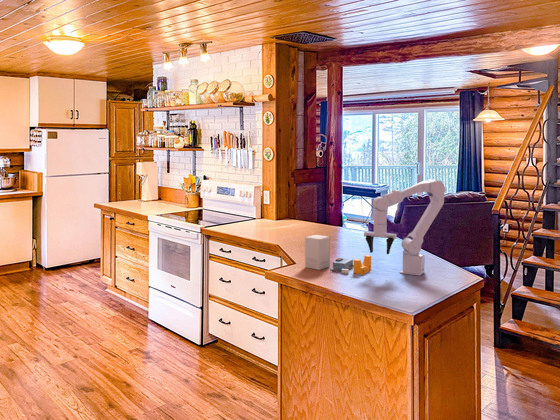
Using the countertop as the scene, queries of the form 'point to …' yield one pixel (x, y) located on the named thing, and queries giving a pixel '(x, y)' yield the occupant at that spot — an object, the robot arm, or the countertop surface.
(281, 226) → the countertop surface
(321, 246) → the supplement box
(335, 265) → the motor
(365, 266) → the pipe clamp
